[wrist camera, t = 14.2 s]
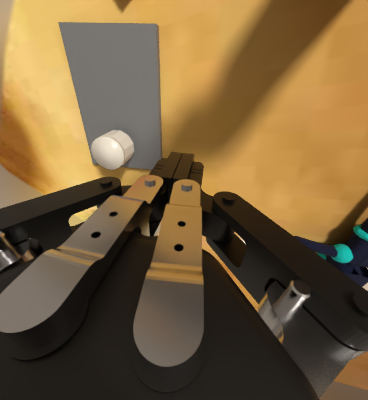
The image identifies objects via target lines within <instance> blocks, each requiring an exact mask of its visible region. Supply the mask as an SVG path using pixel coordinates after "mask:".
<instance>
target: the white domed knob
mask: <svg viewBox="0 0 368 400" xmlns="http://www.w3.org/2000/svg"><path fill="white" fill-rule="evenodd" d="M91 152H92V155H93V157H94V159H95V161H96V162H97V163H98V164H99V165H100V166H102V167H104V168H106V169H110V170H113V169H117V168H119V167H120V166H122V165H123V164H124V163H125V162H126V161H128V160H129V159H130V158H131V157H132V155H133V152H134V145H133V142H132V140H131V139H130V137H129V135H127V134H126V133H124V132H122V131H120V130H112V131H110V132H108V133H106V134H104V135H102V136H100V137H99V138H97V139H95V140H94V141H93V143H92V146H91Z"/></svg>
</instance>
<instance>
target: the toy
mask: <svg viewBox="0 0 368 400" xmlns="http://www.w3.org/2000/svg"><path fill="white" fill-rule="evenodd" d="M353 230H354V232H355V233H354V234H353V235H352V236H351V237H350V239H349V240H348V241H347V242H346V243H344V244H335V245H326V244H321V243H318V242H315V241H311V240H308V239H304V238H301V237H299V236H294V237H295V238H296V239H298V240H299V241H300V242H302V243H303V244H305V245H306V246H307V247H309V248H310V249H311V250H313V251H314V252H318V253H317V254H318V255H319V256H321V257H322V258H323V259H325V260H326V261H327V262H329V263H330V264H332V265H333V266H334V267H336V268H337V269H338V270H340V271H341V272H342V273H344V274H345V275H346V276H348V277H349V278H350V279H352V280H353V281H355V282H356V283H357V284H359V285H360V286H361V287H362V286H364V285H365V284H366V283H367V282H368V269H367V268H368V219H367V220H366V221H365V222H364V223H363V224H360V225H357V226H355V227H354V228H353ZM366 267H367V268H366Z"/></svg>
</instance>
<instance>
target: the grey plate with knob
mask: <svg viewBox="0 0 368 400" xmlns="http://www.w3.org/2000/svg"><path fill="white" fill-rule="evenodd" d="M58 23H59V27H60V31H61V35H62V39H63V43H64V47H65V51H66V55H67V59H68V63H69V68H70V72H71V76H72V80H73V84H74V88H75V92H76V96H77V100H78V104H79V108H80V113H81V117H82V121H83V125H84V129H85V133H86V137H87V141H88V145H89V149H90V153H91V158H92V162H93V164H98V163H97V162H96V161H95V159H94V157H93V155H92V152H91V146H92V143H93V141H94V140H95V139H97V138H99V137H100V136H102V135H104V134H106V133H108V132H110V131H112V130H120V131H122V132H124V133H126V134H127V135H129V137H130V139H131V140H132V142H133V145H134V152H133V155H132V157H131V158H130V159H129V160H128V161H126V162H125V163H124V164H123V165H122V166H120V167H129V168H139V169H149V170H152V169H153V168H154V166H155V165H156V163H157V162H158V161H159V160H161V159H162V132H161V96H160V60H159V26H158V25H157V24H138V23H71V22H58Z"/></svg>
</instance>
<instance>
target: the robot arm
mask: <svg viewBox="0 0 368 400" xmlns="http://www.w3.org/2000/svg"><path fill="white" fill-rule="evenodd" d="M203 168H204V166H203V165H202V163H201V162H194V154H186V153H177V152H171V154H170V155H169V157H168V159H165V158H163V159H161V160H159V161H158V162H157V163H156V165H155V166H154V168H153V169H152V171H151V172H150V174H149V175H146V176H142V177H140V178H139V179H138V180H137V181H136V182H135V183H134V184H133V185H130V186H121V181H120V180H119V179H118V178H115V177H103V178H99V179H96V180H93V181H90V182H86V183H83V184H80V185H76V186H73V187H70V188H67V189H63V190H60V191H57V192H54V193H50V194H47V195H44V196H41V197H37V198H34V199H31V200H27V201H24V202H21V203H18V204H14V205H11V206H8V207H5V208H1V209H0V400H320V399H319V398H320V397H321V396H322V394H323V393H324V392H325V391H326V389H327V388H328V387H329V386H330V384H331V383H332V382H333V381H334V379H335V378H336V377H337V376H338V374H339V373H340V372H341V371H342V369H343V368H344V367H345V366H346V364H347V363H348V362H349V361H350V360H352V359H354V358H356V357H357V356H359V355H361V354H363V353H365V352H367V351H368V291H367V290H365V289H364V288H362V287H361V286H360V285H359V284H357V283H356V282H355V281H353V280H352V279H350V278H349V277H348V276H346V275H345V274H344V273H342V272H341V271H340V270H338V269H337V268H336V267H334V266H333V265H332V264H330V263H329V262H327V261H326V260H325V259H323V258H322V257H321V256H319V255H318V254H317V253H315V252H314V251H313V250H311V249H310V248H309V247H307V246H306V245H305V244H303V243H302V242H300V241H299V240H298V239H296V238H295V237H294V236H292V235H291V234H290V233H288V232H287V231H286V230H284V229H283V228H282V227H280V226H279V225H278V224H276V223H275V222H273V221H272V220H271V219H269V218H268V217H267V216H265V215H264V214H263V213H261V212H260V211H259V210H257V209H256V208H255V207H253V206H252V205H251V204H249V203H248V202H246V201H245V200H244V199H242V198H241V197H240V196H238V195H237V194H234V193H231V192H218V193H216V194H215V195H214V197H213V196H210V195H208V194H206V193H205V192H203V191H202V189H201V184H202V176H203ZM96 205H97V208H98V209H97V210H96V211H95V212H94V213H93V214H92V215H91V216H90V217H89V218H88V219H87V220H86V221H85V222H82V223H80V224H78V225H75V226H70V225H69V222H68V221H69V218H70V217H71V216H72V215H73V214H75V213H78V212H80V211H83V210H85V209H88V208H91V207H93V206H96ZM234 232H236V233H237V234H238V235H239V236H240V237H241V238H242V239H243V240H244V241H245V243H246V244H245V243H244V242H243V241H242V240H241V239H239V238H238V237H237V236H236V235H235V234H234ZM158 233H159V235H158ZM202 235H203V236H205V237H206V241H207V243H208V244H209V246H210V247H211V248H212V249H213V250H214V251H215V253H216V254H217V255H218V256H219V257H220V259H221V260H222V261H223V262H224V263H225V265H226V266H227V267H228V268H229V269H230V271H231V272H232V273H233V274H234V275H235V277H236V278H237V279H238V280H239V281H240V282H241V284H242V285H243V286H244V287H245V288H246V290H247V291H248V292H249V293H250V294H251V296H252V297H253V298H254V299H255V300H256V302H257V303H258V304H259V306H258V312H257V311H256V310H255V308H254V307H253V306H252V304H251V303H250V302H249V301H248V299H247V298H246V297H245V295H244V294H243V293H242V291H241V290H240V289H239V287H238V286H237V285H236V284H235V282H234V281H233V280H232V278H231V277H230V276H229V274H228V273H227V272H226V270H225V269H224V268H223V267H222V265H221V264H220V263H219V262H218V260H217V259H216V258H215V257H214V256H212V255H211V254H210V253H208V252H207V251H205V250H203V249H202ZM29 238H31V239H29ZM258 313H259V314H258Z"/></svg>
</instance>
